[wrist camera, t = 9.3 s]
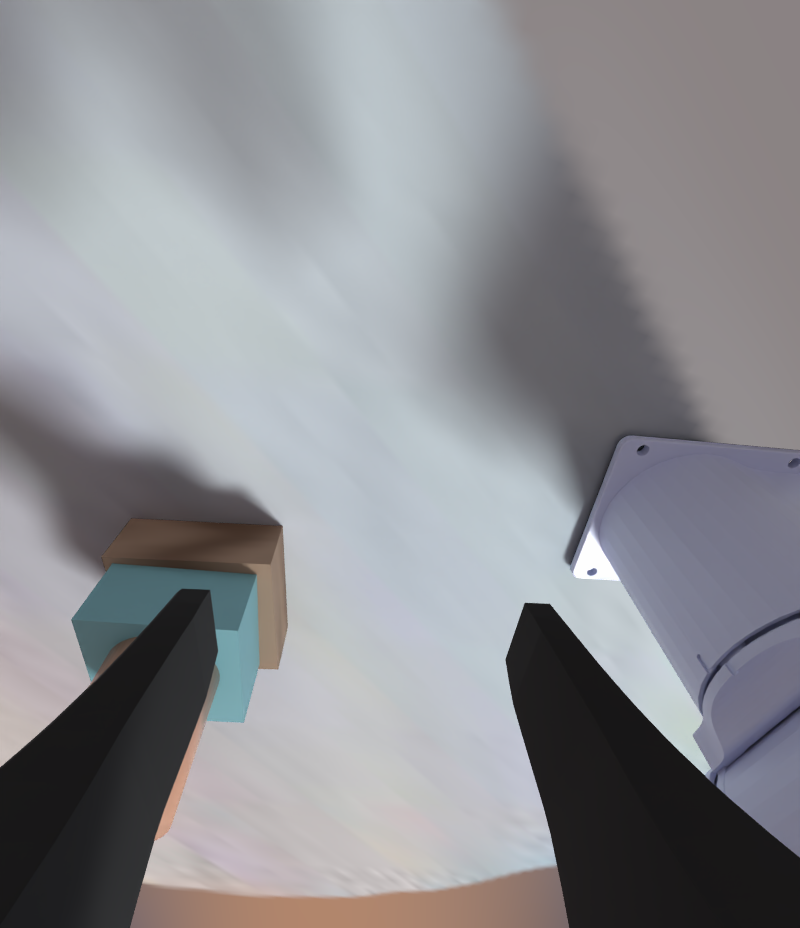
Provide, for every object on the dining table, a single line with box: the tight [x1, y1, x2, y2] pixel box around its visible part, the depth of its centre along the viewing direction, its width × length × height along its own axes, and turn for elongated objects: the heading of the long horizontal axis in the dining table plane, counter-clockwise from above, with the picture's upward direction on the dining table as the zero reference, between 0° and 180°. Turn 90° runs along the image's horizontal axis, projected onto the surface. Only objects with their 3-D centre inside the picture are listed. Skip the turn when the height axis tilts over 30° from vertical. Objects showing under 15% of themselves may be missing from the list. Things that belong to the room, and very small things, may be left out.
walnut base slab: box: [101, 518, 288, 669], centre depth 23 cm, size 7×7×3 cm
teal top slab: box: [71, 563, 260, 723], centre depth 20 cm, size 6×6×3 cm
